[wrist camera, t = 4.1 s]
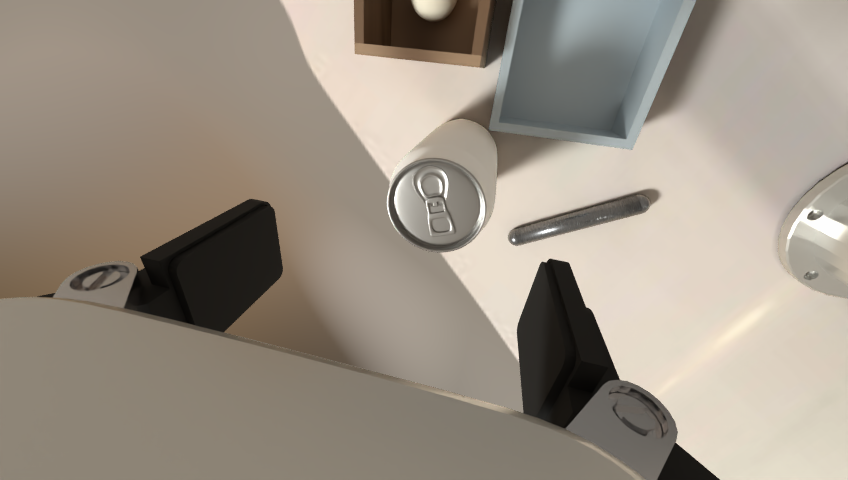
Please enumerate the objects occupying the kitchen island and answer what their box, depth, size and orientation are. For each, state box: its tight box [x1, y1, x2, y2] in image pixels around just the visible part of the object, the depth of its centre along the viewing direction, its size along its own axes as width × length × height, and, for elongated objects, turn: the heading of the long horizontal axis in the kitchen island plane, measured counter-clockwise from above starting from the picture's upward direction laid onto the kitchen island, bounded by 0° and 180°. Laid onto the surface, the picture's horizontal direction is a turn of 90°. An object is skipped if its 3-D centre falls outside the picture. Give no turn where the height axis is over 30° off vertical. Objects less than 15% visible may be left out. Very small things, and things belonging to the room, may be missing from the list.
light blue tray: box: [489, 0, 696, 150], centre depth 21 cm, size 10×10×4 cm
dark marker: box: [508, 195, 650, 246], centre depth 27 cm, size 12×2×2 cm, turn 115°
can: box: [387, 119, 498, 252], centre depth 22 cm, size 6×6×12 cm
